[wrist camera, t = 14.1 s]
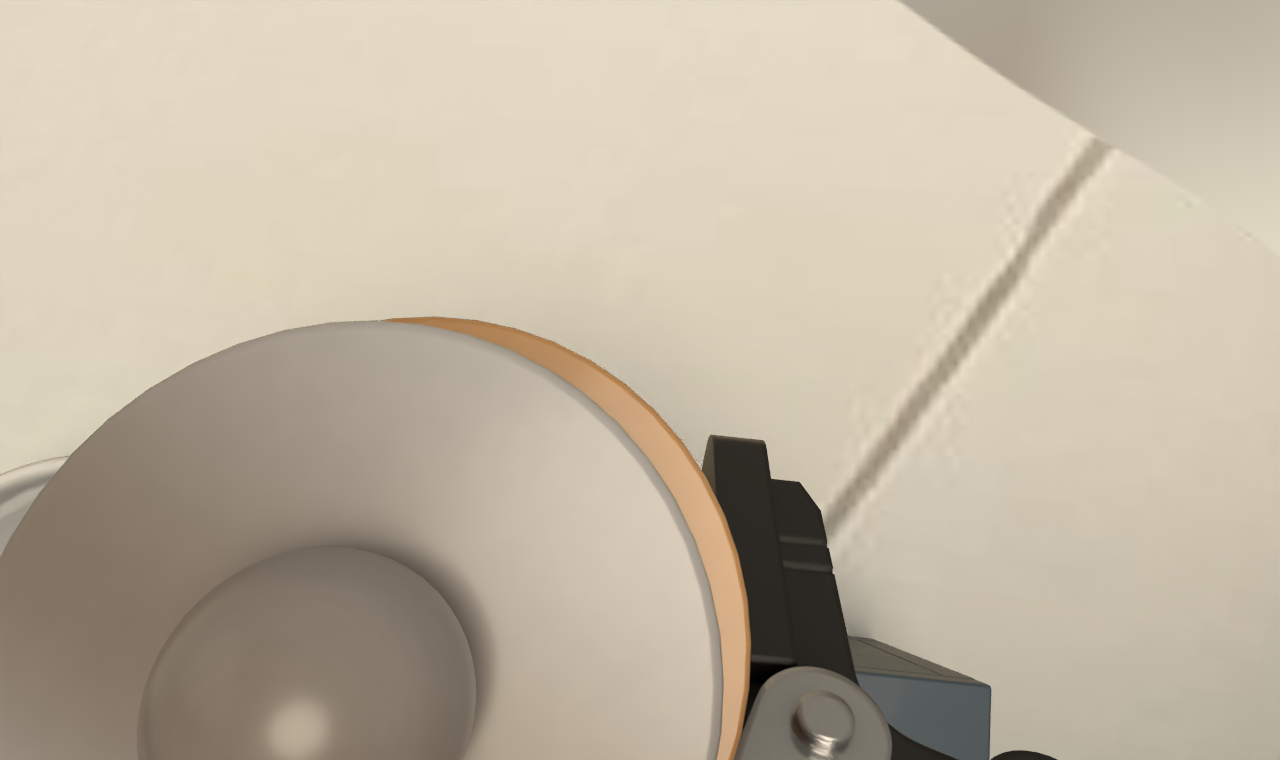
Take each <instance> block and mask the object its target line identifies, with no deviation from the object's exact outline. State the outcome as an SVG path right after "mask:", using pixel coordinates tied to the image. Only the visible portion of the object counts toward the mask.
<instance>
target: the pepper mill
mask: <svg viewBox="0 0 1280 760" xmlns="http://www.w3.org/2000/svg"><path fill="white" fill-rule="evenodd" d="M750 661H751V634H750V621H749V609H748V598H747V593H746V588H745V583H744V579H743V574H742V569H741V564H740V560H739V555H738V552H737V549H736V546H735V544H734V541H733V538H732V535H731V532H730V529H729V526H728V523H727V520H726V517H725V515H724V513H723V511H722V509H721V507H720V505H719V502H718V500H717V498H716V496H715V494H714V492H713V490H712V488H711V486H710V484H709V482H708V480H707V478H706V476H705V475H704V473H703V472H702V470H701V469H700V467H699V466H698V464H697V463H696V461H695V460H694V458H693V457H692V455H691V454H690V452H689V451H688V449H687V448H686V446H685V445H684V443H683V442H682V441H681V440H680V438H679V437H678V436H677V435H676V434H675V433H674V431H673V430H672V429H671V428H670V427H669V426H668V425H667V423H666V422H665V421H664V420H663V419H662V418H661V417H660V415H659V414H658V413H657V412H656V411H655V410H654V409H653V408H652V407H651V406H650V405H648V404H647V403H646V402H645V401H644V400H643V399H642V398H641V397H639V396H638V395H637V394H636V393H635V392H634V391H633V390H631V389H630V388H629V387H628V386H627V385H626V384H625V383H623V382H622V381H620V380H619V379H617V378H616V377H614V376H613V375H611V374H610V373H609V372H607V371H606V370H604V369H603V368H601V367H600V366H598V365H597V364H595V363H594V362H592V361H591V360H589V359H587V358H585V357H583V356H581V355H579V354H577V353H575V352H573V351H571V350H569V349H567V348H565V347H563V346H561V345H559V344H557V343H555V342H553V341H550V340H547V339H544V338H541V337H538V336H535V335H533V334H530V333H527V332H524V331H521V330H518V329H515V328H511V327H506V326H501V325H497V324H492V323H487V322H482V321H478V320H469V319H457V318H445V317H414V318H392V319H386V320H380V321H377V320H376V321H353V322H330V323H324V324H318V325H312V326H306V327H300V328H294V329H288V330H283V331H280V332H276V333H273V334H270V335H266V336H263V337H259V338H256V339H253V340H249V341H246V342H243V343H239V344H237V345H234V346H232V347H230V348H227V349H225V350H223V351H220V352H218V353H216V354H213V355H211V356H209V357H207V358H204V359H202V360H200V361H197V362H195V363H193V364H191V365H189V366H187V367H186V368H184V369H182V370H180V371H179V372H177V373H175V374H174V375H172V376H170V377H168V378H167V379H165V380H163V381H162V382H160V383H158V384H156V385H155V386H153V387H151V388H149V389H148V390H147V391H145V392H144V393H143V394H141V395H140V396H139V397H137V398H136V399H135V400H133V401H132V402H131V403H129V404H128V405H127V406H125V407H124V408H123V409H121V410H120V411H119V412H117V413H116V414H115V415H113V416H112V417H111V418H109V419H108V420H107V421H106V422H105V423H104V424H103V425H102V426H101V427H100V428H99V429H97V430H96V431H95V432H94V433H93V434H92V435H91V436H90V437H89V438H88V439H87V440H86V441H85V442H84V443H83V444H82V445H81V446H80V447H79V448H77V449H76V450H75V451H74V452H73V453H72V454H71V455H70V457H69V458H68V459H67V460H66V461H65V463H64V464H63V465H62V466H61V467H60V469H59V470H58V471H57V472H56V473H55V475H54V476H53V477H52V478H51V479H50V481H49V482H48V483H47V484H46V485H45V487H44V488H43V489H42V490H41V491H40V493H39V494H38V495H37V497H36V499H35V500H34V502H33V503H32V505H31V506H30V508H29V509H28V511H27V512H26V514H25V515H24V517H23V519H22V520H21V522H20V523H19V525H18V526H17V528H16V529H15V531H14V532H13V534H12V535H11V537H10V539H9V541H8V543H7V545H6V547H5V549H4V551H3V553H2V555H1V557H0V760H734V758H735V754H736V751H737V748H738V744H739V741H740V738H741V734H742V729H743V723H744V717H745V711H746V705H747V699H748V693H749V683H750Z"/></svg>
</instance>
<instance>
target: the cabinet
mask: <svg viewBox="0 0 1280 760" xmlns="http://www.w3.org/2000/svg"><path fill="white" fill-rule="evenodd" d="M848 641H849V646H850V650H851V655H852V660H853V664H854V669H855V673H856V676H857V680H858V683H859V685H860V687H861V688H862V689H863V690H864V691H865V692H866V693H868V694H869V696H870V697H871V698H872V699H873V700H874V701H875V702H876V704H877V705H878V707H879V708H880V710H881V711H882V713H883V715H884V717H885V719H886V721H887V722H888V723H889V724H890V725H891V726H892V727H894V728H895V729H896V730H898V731H899V732H900V733H902V734H903V735H905V736H907V737H908V738H910V739H912V740H913V741H915V742H918V743H920V744H922V745H924V746H926V747H929V748H931V749H934V750H936V751H938V752H941V753H943V754H946V755H948V756H951V757H953V758H956V759H958V760H989V750H990V714H991V687H990V686H989V685H987V684H985V683H982V682H980V681H977V680H975V679H973V678H971V677H968V676H965V675H963V674H960V673H958V672H955V671H953V670H950V669H948V668H945V667H943V666H940V665H938V664H935V663H932V662H930V661H927V660H925V659H922V658H920V657H917V656H915V655H912V654H910V653H907V652H905V651H902V650H899V649H897V648H894V647H892V646H889V645H887V644H884V643H882V642H878V641H876V640H873V639H867V638H857V637H848Z"/></svg>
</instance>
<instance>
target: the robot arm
mask: <svg viewBox="0 0 1280 760" xmlns="http://www.w3.org/2000/svg"><path fill="white" fill-rule="evenodd" d="M702 472H703V473H704V475H705V476H706V478H707V480H708V482H709V484H710V486H711V488H712V490H713V492H714V494H715V496H716V498H717V500H718V502H719V505H720V507H721V509H722V511H723V513H724V515H725V517H726V520H727V523H728V526H729V529H730V532H731V535H732V538H733V541H734V544H735V546H736V549H737V552H738V555H739V560H740V564H741V569H742V574H743V579H744V583H745V588H746V593H747V598H748V609H749V621H750V634H751V661H750V683H749V693H748V699H747V705H746V711H745V717H744V723H743V729H742V734H741V738H740V741H739V744H738V748H737V751H736V754H735V758H734V760H958V759H956V758H953V757H951V756H948V755H946V754H943V753H941V752H938V751H936V750H934V749H931V748H929V747H926V746H924V745H922V744H920V743H918V742H915V741H913V740H912V739H910V738H908V737H907V736H905V735H903V734H902V733H900V732H899V731H898V730H896V729H895V728H894V727H892V726H891V725H890V724H889V723H888V722H887V721H886V719H885V717H884V715H883V713H882V711H881V710H880V708H879V707H878V705H877V704H876V702H875V701H874V700H873V699H872V698H871V697H870V696H869V694H868V693H866V692H865V691H864V690H863V689H862V688H861V687H860V685H859V683H858V680H857V676H856V673H855V669H854V664H853V660H852V655H851V650H850V646H849V641H848V636H847V632H846V627H845V622H844V618H843V613H842V608H841V604H840V599H839V594H838V589H837V585H836V580H835V575H834V574H832V569H833V566H832V561H831V557H830V552H829V548H827V538H826V533H825V529H824V524H823V519H822V515H821V510H820V509H819V508H818V506H817V505H816V504H815V502H814V501H813V500H812V498H811V497H810V496H809V494H808V493H807V491H806V490H805V489H804V487H803V486H802V485H801V483H800V482H794V481H785V480H776V479H771V476H770V469H769V462H768V455H767V449H766V444H765V442H764V441H763V440H755V439H745V438H736V437H727V436H718V435H710V437H709V439H708V442H707V446H706V451H705V456H704V461H703V466H702ZM991 760H1057V759H1055V758H1052V757H1050V756H1047V755H1044V754H1040V753H1037V752H1031V751H1009V752H1004V753H1002V754H999V755H997V756H995V757H993V758H992V759H991Z"/></svg>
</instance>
